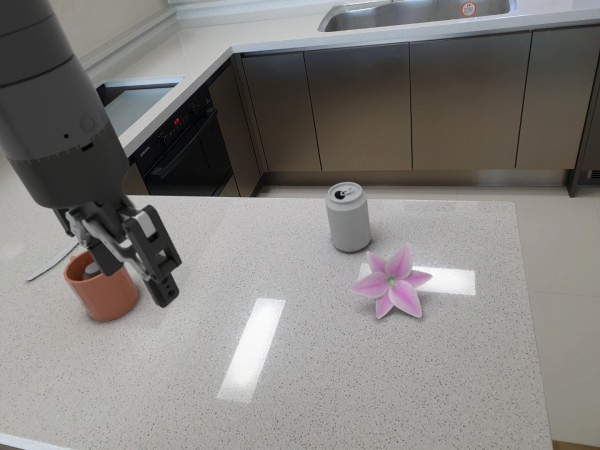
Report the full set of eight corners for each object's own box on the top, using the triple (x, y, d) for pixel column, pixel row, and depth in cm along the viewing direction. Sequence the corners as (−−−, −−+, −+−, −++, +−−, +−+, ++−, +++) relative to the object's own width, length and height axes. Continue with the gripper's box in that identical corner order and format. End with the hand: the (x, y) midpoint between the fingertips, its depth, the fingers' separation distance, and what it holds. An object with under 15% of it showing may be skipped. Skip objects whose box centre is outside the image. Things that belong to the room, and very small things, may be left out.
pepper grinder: (110, 313, 84) (89, 280, 79) (95, 303, 87) (74, 271, 82) (131, 295, 87) (112, 262, 82) (116, 287, 90) (97, 255, 84)
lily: (342, 309, 77) (344, 295, 68) (366, 248, 81) (371, 227, 72) (411, 337, 75) (423, 326, 66) (432, 273, 79) (446, 255, 70)
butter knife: (124, 206, 113) (116, 203, 114) (31, 282, 96) (23, 278, 97) (125, 208, 113) (117, 205, 114) (33, 284, 96) (24, 280, 98)
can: (328, 234, 92) (319, 185, 84) (364, 225, 92) (358, 175, 85) (338, 258, 86) (329, 207, 78) (376, 248, 86) (371, 196, 79)
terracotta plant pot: (148, 293, 87) (127, 255, 81) (107, 328, 82) (81, 290, 76) (110, 272, 94) (88, 235, 88) (70, 303, 89) (43, 265, 83)
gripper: (-34, 138, 35) (67, 285, 45) (59, 175, 27) (157, 343, 37) (53, 98, 40) (128, 240, 49) (155, 119, 32) (220, 283, 42)
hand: (140, 284), depth 43 cm, fingers open, 8 cm apart
